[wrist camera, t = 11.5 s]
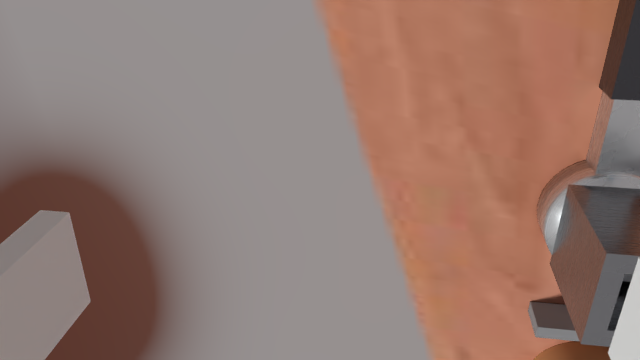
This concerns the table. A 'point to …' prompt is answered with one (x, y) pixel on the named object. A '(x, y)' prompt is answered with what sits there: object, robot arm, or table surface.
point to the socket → (596, 257)
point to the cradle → (552, 321)
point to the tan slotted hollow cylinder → (574, 352)
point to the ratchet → (606, 127)
